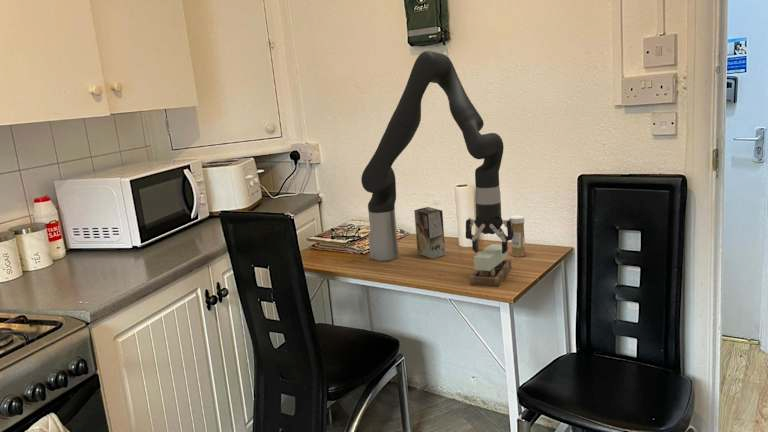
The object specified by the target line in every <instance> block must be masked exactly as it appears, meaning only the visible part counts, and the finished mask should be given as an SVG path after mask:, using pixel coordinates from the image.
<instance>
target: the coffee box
mask: <svg viewBox="0 0 768 432" xmlns="http://www.w3.org/2000/svg"><path fill="white" fill-rule="evenodd" d="M414 223H415V235H416V246H417V247H416V248H417V254H418V255H421V256H424V257H426V258H429V259H435V258H439V257H443V256H445V255H446V246H445V244H446V243H445V231H444V229H445V228H444V216H443V210H442V209H438V208H433V207H429V206H425V207H421V208H418V209H414Z"/></svg>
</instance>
